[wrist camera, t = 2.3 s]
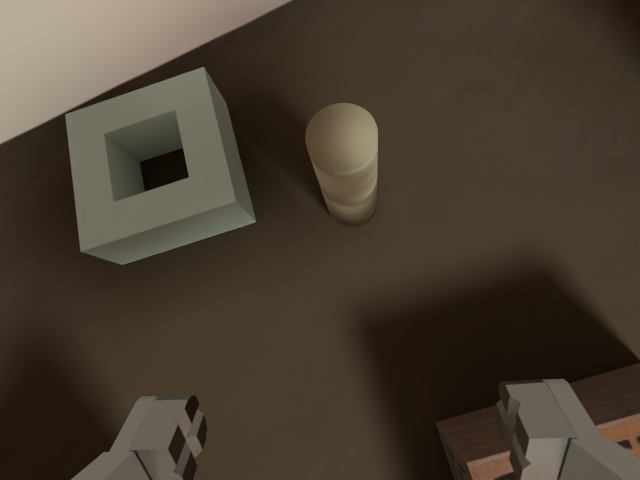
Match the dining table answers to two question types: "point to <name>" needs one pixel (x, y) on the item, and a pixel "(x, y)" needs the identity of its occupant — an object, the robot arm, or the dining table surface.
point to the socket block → (148, 142)
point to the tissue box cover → (493, 455)
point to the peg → (345, 161)
